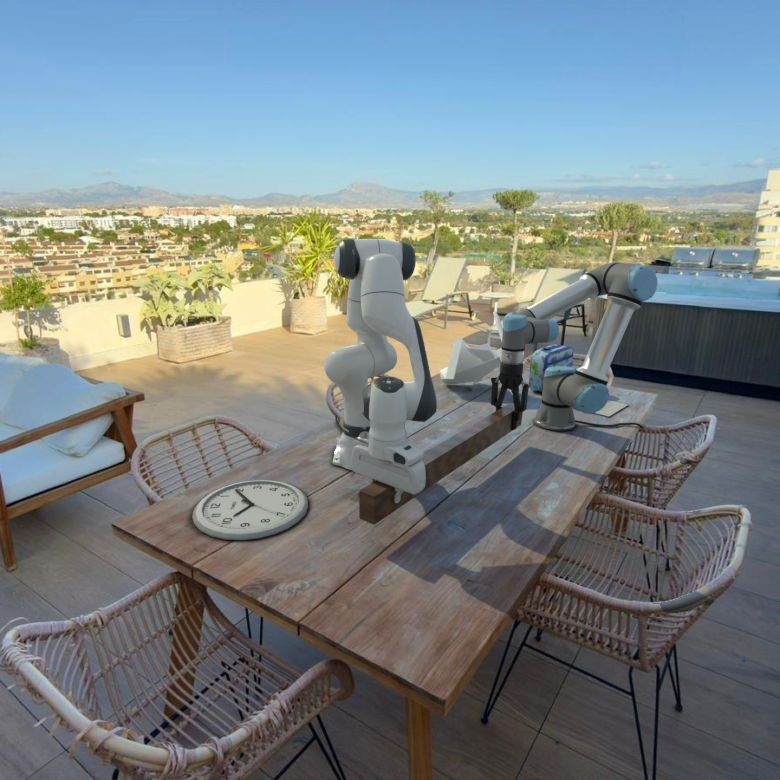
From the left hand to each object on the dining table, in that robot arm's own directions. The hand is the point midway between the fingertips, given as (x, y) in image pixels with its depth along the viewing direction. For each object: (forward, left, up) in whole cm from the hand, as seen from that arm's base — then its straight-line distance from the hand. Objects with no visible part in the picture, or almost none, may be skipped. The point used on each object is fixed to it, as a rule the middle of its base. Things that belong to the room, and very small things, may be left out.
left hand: (386, 497), depth 128 cm
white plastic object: (-107, +65, -10) cm, 126 cm away
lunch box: (-107, +100, -10) cm, 147 cm away
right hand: (-45, +51, -2) cm, 68 cm away
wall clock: (-17, -33, -10) cm, 39 cm away
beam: (-23, +26, -3) cm, 34 cm away
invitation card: (-80, +110, -10) cm, 137 cm away
